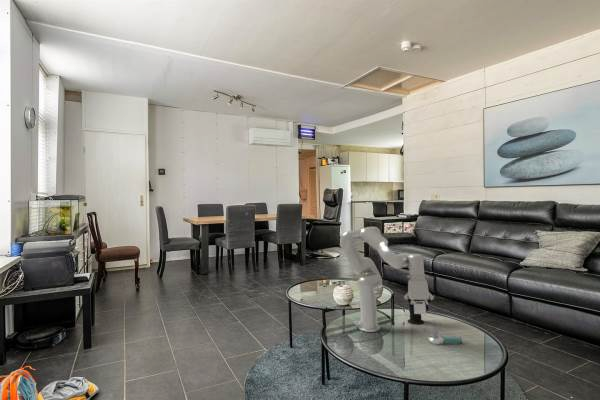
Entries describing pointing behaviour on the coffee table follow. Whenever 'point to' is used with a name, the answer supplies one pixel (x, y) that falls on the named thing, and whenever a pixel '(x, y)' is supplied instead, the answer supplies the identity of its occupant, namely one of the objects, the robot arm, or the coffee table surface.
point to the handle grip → (414, 316)
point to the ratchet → (442, 339)
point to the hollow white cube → (419, 307)
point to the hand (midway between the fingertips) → (419, 311)
